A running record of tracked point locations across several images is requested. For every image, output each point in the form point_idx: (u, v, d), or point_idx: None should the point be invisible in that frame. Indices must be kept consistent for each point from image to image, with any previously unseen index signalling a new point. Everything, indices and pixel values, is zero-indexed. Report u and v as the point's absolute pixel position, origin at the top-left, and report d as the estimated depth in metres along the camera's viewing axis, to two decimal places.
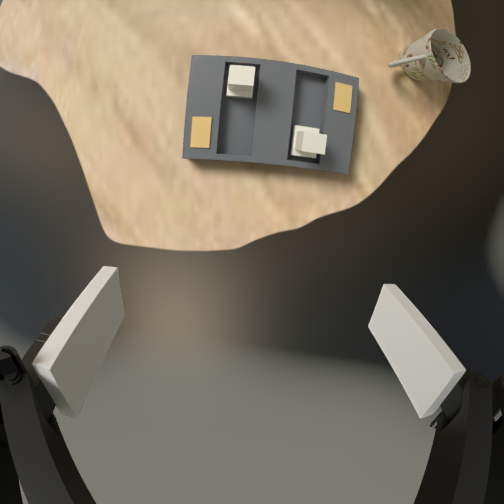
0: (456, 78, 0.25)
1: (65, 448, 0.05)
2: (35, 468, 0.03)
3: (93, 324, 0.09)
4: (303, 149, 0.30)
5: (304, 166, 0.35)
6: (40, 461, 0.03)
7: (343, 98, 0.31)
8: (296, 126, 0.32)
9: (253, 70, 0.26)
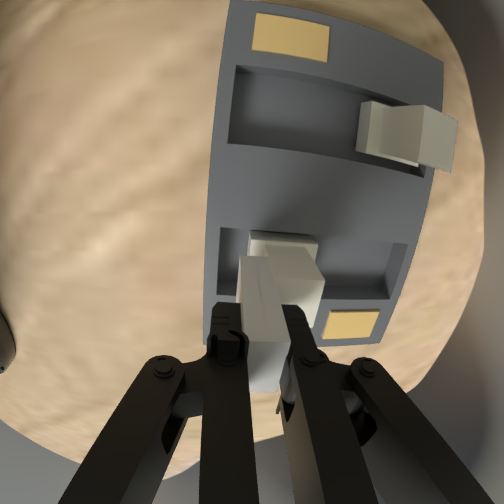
0: None
1: None
2: (228, 453, 0.05)
3: None
4: (448, 168, 0.11)
5: None
6: (238, 448, 0.05)
7: (295, 35, 0.11)
8: (368, 151, 0.14)
9: (285, 281, 0.12)
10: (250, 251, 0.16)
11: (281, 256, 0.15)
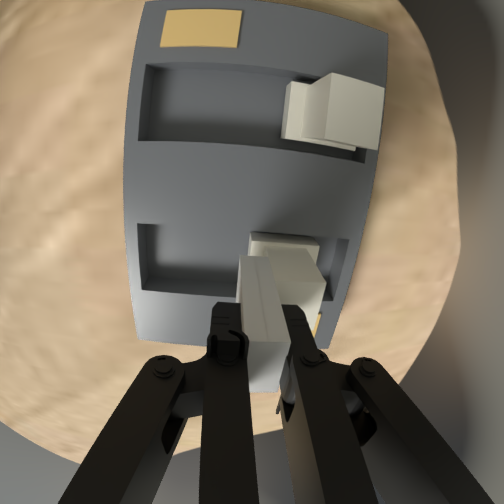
0: None
1: None
2: (228, 453, 0.05)
3: None
4: (373, 144, 0.10)
5: None
6: (238, 448, 0.05)
7: (203, 25, 0.10)
8: (288, 136, 0.13)
9: (285, 284, 0.12)
10: (251, 252, 0.16)
11: (282, 258, 0.14)
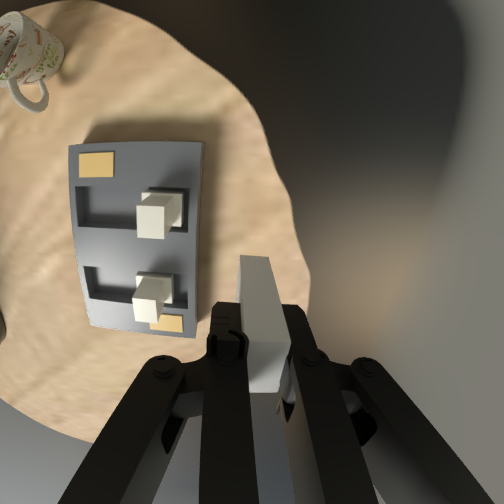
0: None
1: None
2: (228, 453, 0.05)
3: None
4: (161, 236, 0.22)
5: (195, 209, 0.26)
6: (238, 448, 0.05)
7: (96, 164, 0.23)
8: None
9: (136, 299, 0.25)
10: (136, 281, 0.28)
11: (144, 285, 0.27)
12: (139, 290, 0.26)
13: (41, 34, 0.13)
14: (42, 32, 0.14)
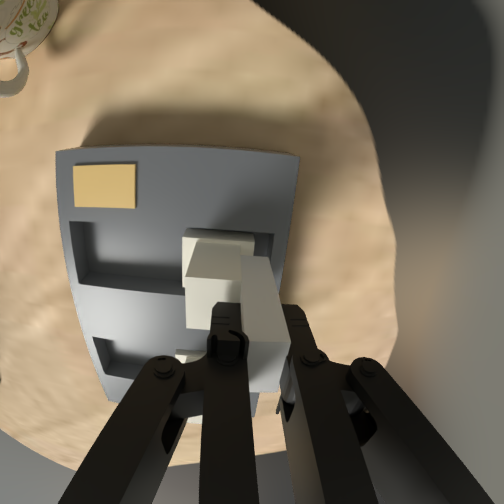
0: None
1: None
2: (228, 453, 0.05)
3: None
4: None
5: (280, 266, 0.16)
6: (238, 448, 0.05)
7: (104, 185, 0.13)
8: (185, 285, 0.16)
9: None
10: None
11: None
12: None
13: None
14: None
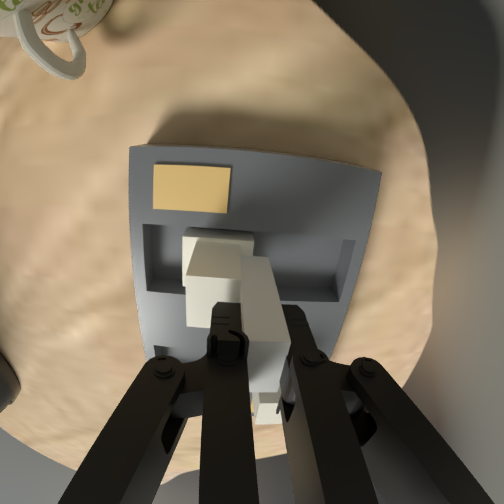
0: None
1: None
2: (228, 453, 0.05)
3: None
4: None
5: (356, 270, 0.17)
6: (238, 448, 0.05)
7: (192, 187, 0.14)
8: (185, 284, 0.16)
9: (267, 404, 0.16)
10: None
11: None
12: None
13: None
14: None
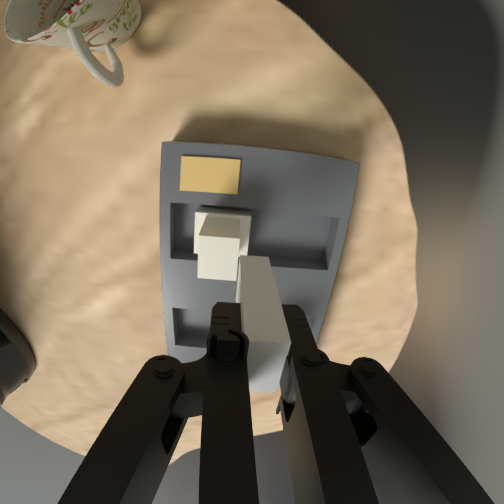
0: None
1: None
2: (228, 453, 0.05)
3: None
4: (232, 278, 0.17)
5: (341, 243, 0.21)
6: (238, 448, 0.05)
7: (211, 174, 0.18)
8: (196, 251, 0.21)
9: None
10: None
11: None
12: None
13: None
14: None
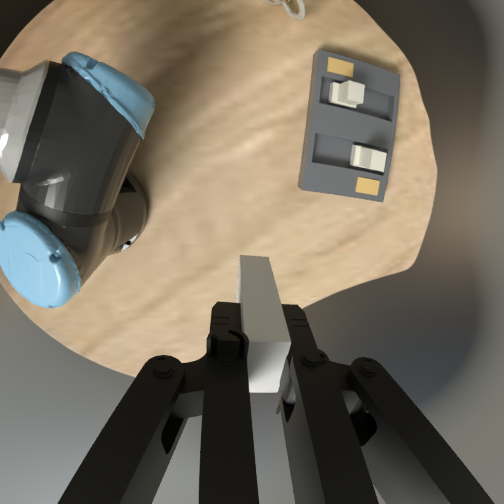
0: None
1: None
2: (228, 453, 0.05)
3: None
4: (361, 101, 0.31)
5: (396, 109, 0.35)
6: (238, 448, 0.05)
7: (341, 66, 0.32)
8: (332, 101, 0.34)
9: (375, 151, 0.34)
10: (355, 150, 0.38)
11: None
12: (370, 149, 0.35)
13: None
14: None
